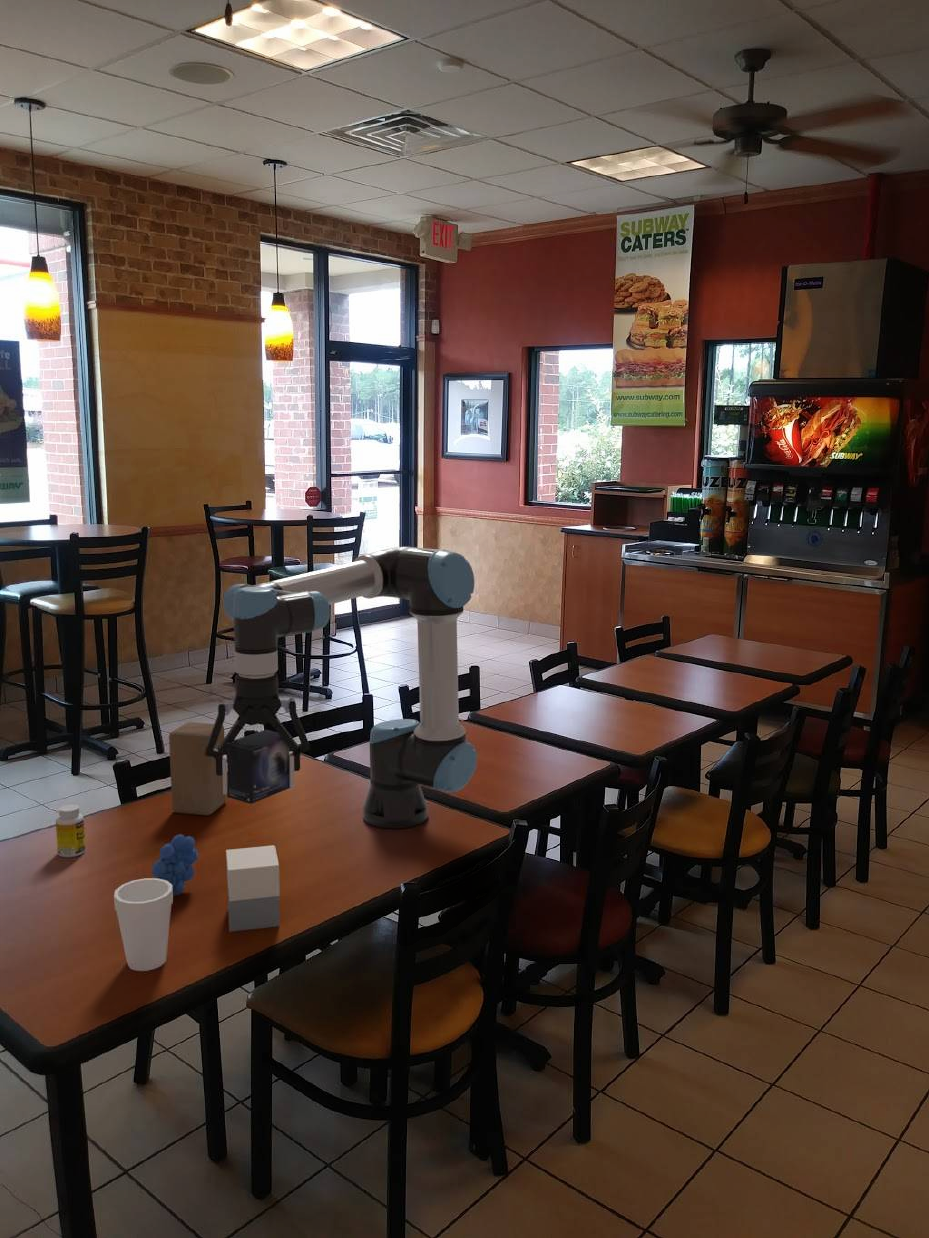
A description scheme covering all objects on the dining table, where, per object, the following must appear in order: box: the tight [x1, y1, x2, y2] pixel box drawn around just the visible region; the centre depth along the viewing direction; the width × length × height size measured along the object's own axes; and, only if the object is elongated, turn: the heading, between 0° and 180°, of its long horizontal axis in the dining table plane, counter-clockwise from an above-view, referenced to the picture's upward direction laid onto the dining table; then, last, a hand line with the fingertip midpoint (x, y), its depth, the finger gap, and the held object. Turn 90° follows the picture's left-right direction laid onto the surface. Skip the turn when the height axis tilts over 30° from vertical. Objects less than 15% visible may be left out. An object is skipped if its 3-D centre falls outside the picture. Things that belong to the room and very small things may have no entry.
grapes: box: [151, 833, 199, 896], centre depth 193 cm, size 12×7×12 cm, turn 151°
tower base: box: [227, 893, 280, 932], centre depth 184 cm, size 9×9×6 cm
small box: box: [226, 729, 291, 805], centre depth 180 cm, size 11×6×10 cm, turn 149°
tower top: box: [225, 844, 281, 901], centre depth 183 cm, size 9×9×6 cm
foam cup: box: [113, 877, 174, 972], centre depth 168 cm, size 10×9×13 cm
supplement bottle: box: [55, 804, 86, 858], centre depth 211 cm, size 6×6×10 cm
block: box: [168, 721, 228, 816], centre depth 236 cm, size 10×10×20 cm
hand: (258, 789), depth 181 cm, fingers closed on small box, 11 cm apart
